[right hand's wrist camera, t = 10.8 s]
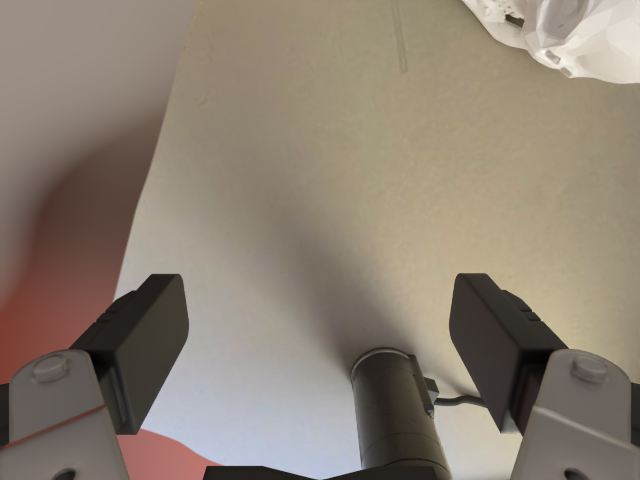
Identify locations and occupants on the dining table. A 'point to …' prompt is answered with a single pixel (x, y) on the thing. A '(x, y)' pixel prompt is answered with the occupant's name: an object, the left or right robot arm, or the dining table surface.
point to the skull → (570, 34)
